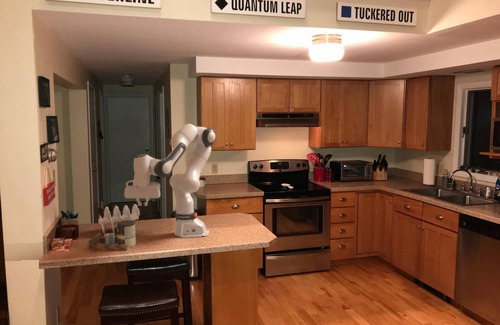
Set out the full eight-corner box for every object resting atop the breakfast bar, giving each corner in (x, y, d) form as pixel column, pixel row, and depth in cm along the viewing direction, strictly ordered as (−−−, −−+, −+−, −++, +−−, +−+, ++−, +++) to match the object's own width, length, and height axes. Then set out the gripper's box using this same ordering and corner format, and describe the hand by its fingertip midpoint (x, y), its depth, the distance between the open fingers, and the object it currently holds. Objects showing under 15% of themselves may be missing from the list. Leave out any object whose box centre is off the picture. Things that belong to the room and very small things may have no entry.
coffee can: (115, 249, 227) (114, 225, 226) (120, 243, 237) (119, 220, 236) (134, 248, 228) (133, 224, 227) (137, 243, 238) (136, 220, 237)
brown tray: (134, 241, 241) (133, 232, 240) (126, 250, 225) (126, 240, 224) (99, 242, 240) (98, 232, 240) (89, 250, 224) (88, 240, 224)
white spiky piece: (99, 238, 262) (138, 231, 273) (101, 233, 247) (142, 226, 258) (96, 211, 267) (134, 206, 278) (97, 204, 252) (137, 199, 263)
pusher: (114, 242, 238) (114, 231, 238) (108, 248, 226) (107, 237, 226) (108, 242, 238) (108, 231, 238) (101, 248, 226) (101, 237, 226)
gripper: (161, 181, 232) (161, 204, 234) (126, 181, 232) (127, 204, 233) (159, 182, 226) (159, 206, 227) (123, 183, 226) (123, 206, 227)
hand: (142, 205), depth 230 cm, fingers closed
